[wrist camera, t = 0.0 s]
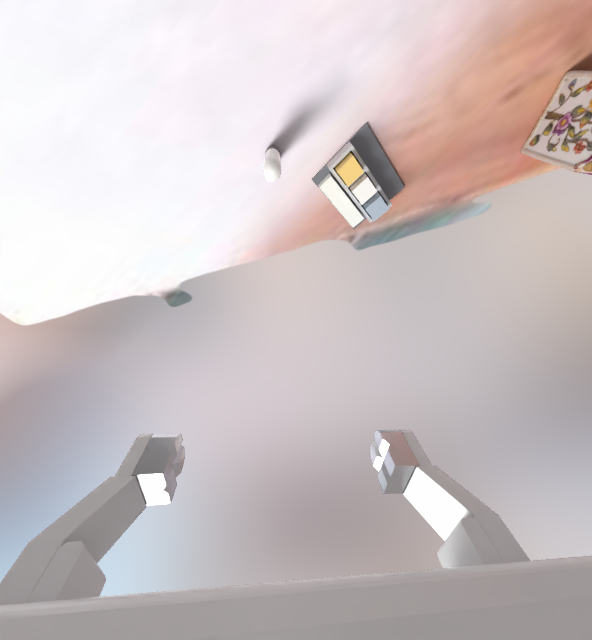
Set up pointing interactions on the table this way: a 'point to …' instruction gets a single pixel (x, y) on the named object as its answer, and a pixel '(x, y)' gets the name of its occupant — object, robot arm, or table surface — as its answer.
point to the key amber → (349, 169)
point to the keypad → (374, 168)
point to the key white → (363, 188)
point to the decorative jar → (566, 126)
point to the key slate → (375, 206)
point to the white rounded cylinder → (272, 164)
